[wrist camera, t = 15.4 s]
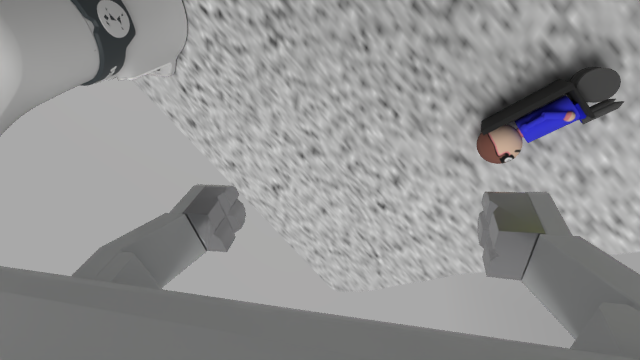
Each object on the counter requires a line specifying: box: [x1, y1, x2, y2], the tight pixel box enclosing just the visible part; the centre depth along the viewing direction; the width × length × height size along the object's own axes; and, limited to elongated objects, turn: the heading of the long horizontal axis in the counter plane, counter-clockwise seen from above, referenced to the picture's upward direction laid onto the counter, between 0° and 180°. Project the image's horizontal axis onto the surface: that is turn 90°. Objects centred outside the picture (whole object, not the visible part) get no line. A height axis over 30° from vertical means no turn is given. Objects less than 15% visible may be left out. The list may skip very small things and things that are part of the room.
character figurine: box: [477, 67, 624, 164], centre depth 36 cm, size 8×7×15 cm
